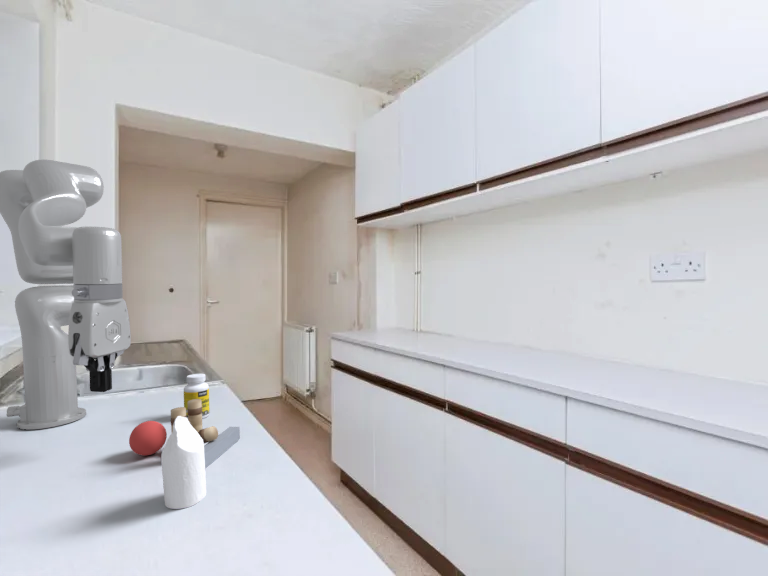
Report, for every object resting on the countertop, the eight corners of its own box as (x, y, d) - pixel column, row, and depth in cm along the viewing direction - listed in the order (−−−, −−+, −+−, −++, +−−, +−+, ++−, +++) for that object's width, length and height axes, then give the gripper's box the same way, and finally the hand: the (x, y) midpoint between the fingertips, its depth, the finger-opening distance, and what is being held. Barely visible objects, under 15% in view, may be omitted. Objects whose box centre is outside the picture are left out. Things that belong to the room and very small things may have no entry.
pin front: (164, 447, 74) (207, 432, 73) (170, 437, 76) (213, 422, 75) (171, 457, 75) (214, 442, 74) (178, 447, 77) (219, 432, 76)
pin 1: (170, 463, 71) (168, 412, 71) (174, 457, 74) (172, 407, 73) (186, 461, 72) (184, 410, 72) (189, 455, 74) (187, 406, 74)
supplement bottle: (200, 421, 93) (198, 378, 93) (179, 420, 94) (177, 377, 94) (214, 413, 98) (213, 372, 98) (194, 412, 99) (193, 372, 99)
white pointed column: (193, 422, 56) (151, 424, 56) (197, 508, 57) (155, 511, 56) (209, 408, 62) (170, 410, 62) (212, 486, 63) (174, 489, 62)
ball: (147, 440, 71) (134, 467, 72) (178, 431, 76) (165, 456, 78) (129, 418, 73) (117, 444, 75) (160, 411, 79) (149, 435, 80)
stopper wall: (189, 472, 68) (188, 457, 68) (230, 439, 82) (229, 426, 82) (200, 472, 68) (199, 457, 67) (239, 439, 81) (239, 426, 81)
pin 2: (187, 451, 76) (185, 403, 76) (190, 446, 79) (188, 399, 78) (202, 449, 77) (200, 402, 77) (204, 444, 79) (202, 398, 79)
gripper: (83, 297, 69) (86, 404, 70) (145, 291, 84) (146, 380, 85) (43, 296, 70) (46, 402, 71) (111, 291, 84) (113, 379, 85)
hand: (101, 390), depth 78 cm, fingers closed
